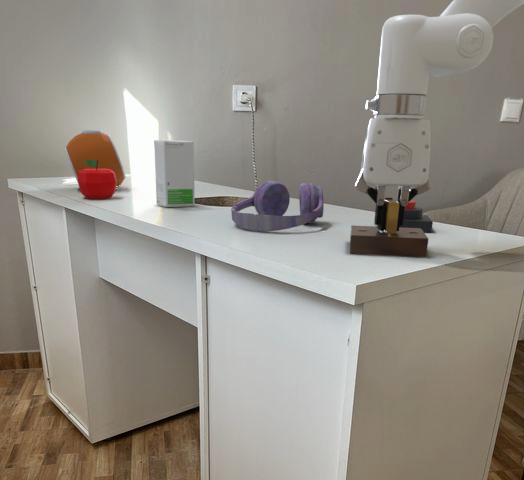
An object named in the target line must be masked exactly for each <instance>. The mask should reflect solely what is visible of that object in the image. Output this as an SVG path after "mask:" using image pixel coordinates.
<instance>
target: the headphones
mask: <svg viewBox="0 0 524 480" xmlns="http://www.w3.org/2000/svg"><path fill="white" fill-rule="evenodd" d="M298 189H299V191H298V192H299V193H298V195H299V196H298V197H299V198H298V199H299V200H298V201H299V214H298V215H297V214H296V215H285V214H286V213H287V211H288V209H289V206H290V200H291V198H290V193H289V190H288V188H287V186H286V185H285V184H283V182H281V181H275V180H267V181H264V182H263V183H261V184H260V185H258V186H257V188H256V189H255V191H254V193H253V194H252V196H250V197H248V198H246V199H242V200H240V201H238V202H236V203H234V205H233V206H231V209H230V210H231V211H230V212H231V220H232V221H233V223H234V224H235V225H236V226H238V227H240V228H242V229H244V230H248V231H251V232H259V233H263V232H264V233H266V232H267V233H268V232H277V231H283V230H288V229H293V228H297V227H300V226H303V225H305V224H308V223H314V222H316V220H318V219H319V218H321V219H322V218H323V217H324V190H323V187H322V186H316V185H315V184H314V183H306V182H303V183H301V184H300V185H299V188H298ZM251 207H254V209H255V211H256V214H255V213H251V212H250V213H249V212H241V211H242V210H245V209H247V208H251Z"/></svg>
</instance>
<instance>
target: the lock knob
mask: <svg viewBox="0 0 524 480" xmlns="http://www.w3.org/2000/svg"><path fill="white" fill-rule="evenodd" d="M385 202H386V203H385V206H387V214H386V225H385V230H384V232H385V233H386V234H396V231H397V222H398V212H399V202H397V201H396V199H394V198H393V197H392V196H385Z"/></svg>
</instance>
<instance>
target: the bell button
mask: <svg viewBox="0 0 524 480" xmlns="http://www.w3.org/2000/svg"><path fill="white" fill-rule="evenodd" d="M416 204H417V202H416V201H414V200H410V201H409V202H408V204H407V205H406V206H405V210H414V209H415V207H416Z"/></svg>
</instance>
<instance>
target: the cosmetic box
mask: <svg viewBox="0 0 524 480" xmlns="http://www.w3.org/2000/svg"><path fill="white" fill-rule="evenodd" d="M194 143H195V142H194V141H192V140H174V139H173V140H171V139H170V140H169V139H154V140H153V146H154V164H155V165H154V168H155V169H154V170H155V196H156V198H155V199H156V206H160V207H163V208H182V207H183V208H184V207H187V208H188V207H195V205H196V202H195V201H196V200H195V199H196V198H195V197H196V196H195V146H194V145H195V144H194Z"/></svg>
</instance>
